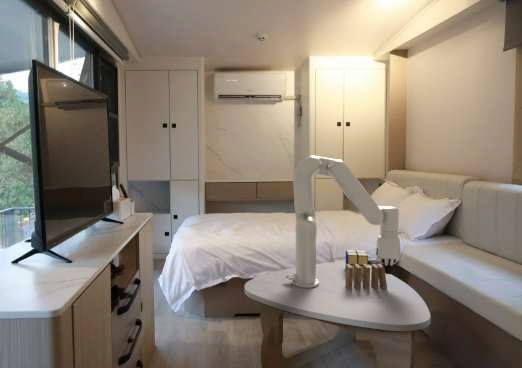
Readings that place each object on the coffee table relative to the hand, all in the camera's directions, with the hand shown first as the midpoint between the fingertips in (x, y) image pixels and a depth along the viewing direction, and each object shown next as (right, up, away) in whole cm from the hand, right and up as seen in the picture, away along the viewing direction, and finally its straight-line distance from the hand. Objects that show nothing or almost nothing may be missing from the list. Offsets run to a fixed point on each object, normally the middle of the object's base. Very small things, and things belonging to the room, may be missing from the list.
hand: (387, 273), depth 159 cm
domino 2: (-14, -6, 0) cm, 15 cm away
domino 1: (-18, -6, 0) cm, 19 cm away
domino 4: (-6, -6, 0) cm, 9 cm away
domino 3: (-10, -6, 0) cm, 12 cm away
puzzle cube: (-8, -5, +22) cm, 24 cm away
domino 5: (-2, -6, 0) cm, 7 cm away
